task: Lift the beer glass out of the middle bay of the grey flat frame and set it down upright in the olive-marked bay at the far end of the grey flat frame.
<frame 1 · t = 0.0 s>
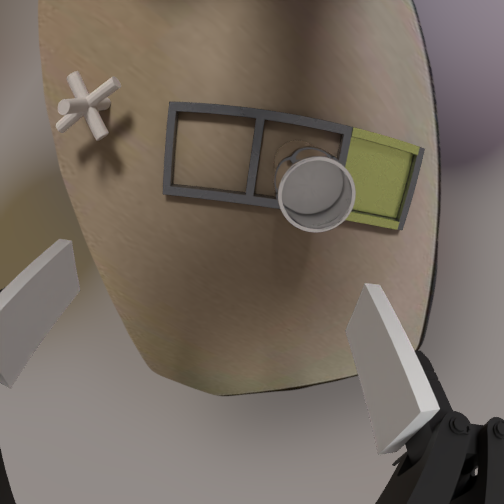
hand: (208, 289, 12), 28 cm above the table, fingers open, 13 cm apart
pipe connector: (105, 103, 33), on the table
beer glass: (297, 162, 37), resting in grey flat frame
grey flat frame: (297, 162, 37), on the table
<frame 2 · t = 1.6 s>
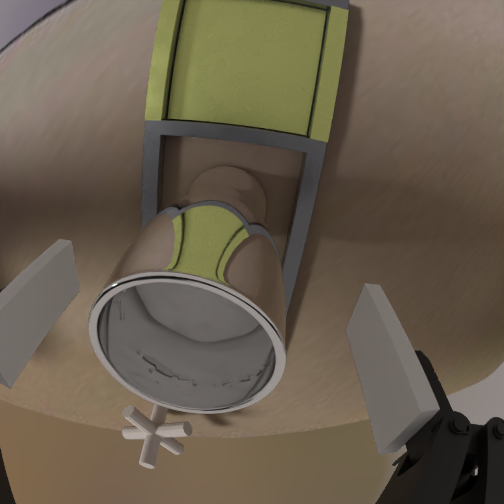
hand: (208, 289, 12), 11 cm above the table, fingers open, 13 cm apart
pipe connector: (162, 399, 34), on the table
beer glass: (226, 204, 22), resting in grey flat frame
grey flat frame: (225, 205, 22), on the table
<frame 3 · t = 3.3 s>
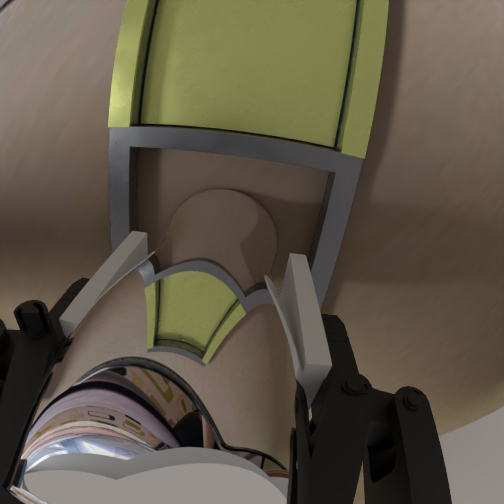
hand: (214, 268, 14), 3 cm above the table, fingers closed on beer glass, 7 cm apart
beer glass: (222, 239, 17), resting in grey flat frame, touching gripper
grey flat frame: (221, 241, 16), on the table
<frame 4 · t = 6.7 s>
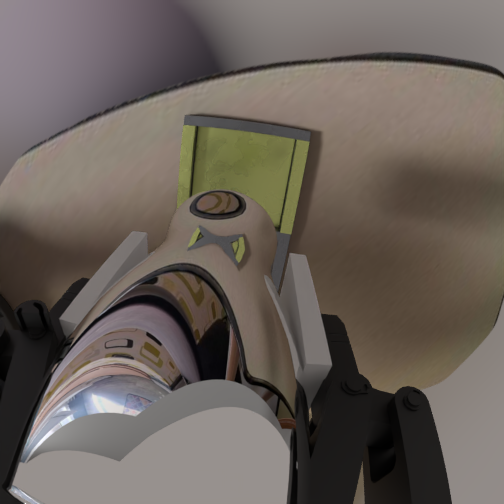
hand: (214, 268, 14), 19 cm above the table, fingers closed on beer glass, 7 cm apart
beer glass: (222, 239, 17), point 15 cm above the table, touching gripper
grey flat frame: (228, 267, 35), on the table
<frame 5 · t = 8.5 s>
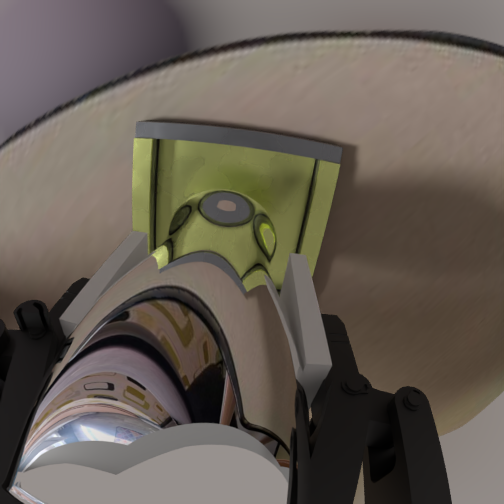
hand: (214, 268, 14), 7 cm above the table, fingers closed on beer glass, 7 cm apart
beer glass: (222, 239, 17), point 3 cm above the table, touching gripper
grey flat frame: (215, 338, 25), on the table
when the fingers open (4 cm above the table, at t = 9.9 s): beer glass drops 1 cm, resting on grey flat frame.
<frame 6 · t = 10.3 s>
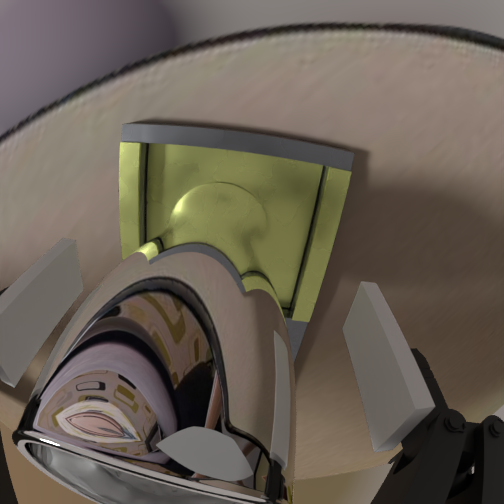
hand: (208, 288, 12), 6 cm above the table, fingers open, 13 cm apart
beer glass: (219, 230, 18), resting on grey flat frame
grey flat frame: (212, 356, 23), on the table
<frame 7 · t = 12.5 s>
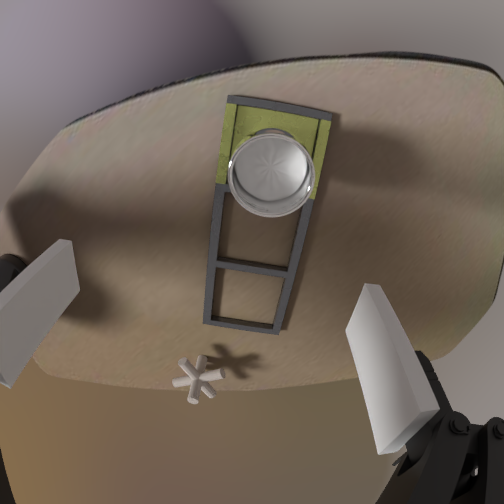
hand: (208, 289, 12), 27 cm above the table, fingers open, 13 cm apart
pipe connector: (202, 357, 53), on the table
beer glass: (269, 149, 35), resting on grey flat frame
grey flat frame: (258, 230, 40), on the table
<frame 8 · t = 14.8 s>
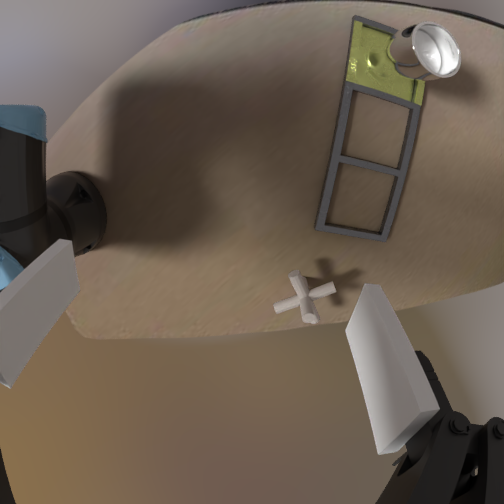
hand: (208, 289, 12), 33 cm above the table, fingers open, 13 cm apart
pipe connector: (301, 280, 51), on the table
beer glass: (385, 62, 33), resting on grey flat frame
grey flat frame: (375, 130, 38), on the table
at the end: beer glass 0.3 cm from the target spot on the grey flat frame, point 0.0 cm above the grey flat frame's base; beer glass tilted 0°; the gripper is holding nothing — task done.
